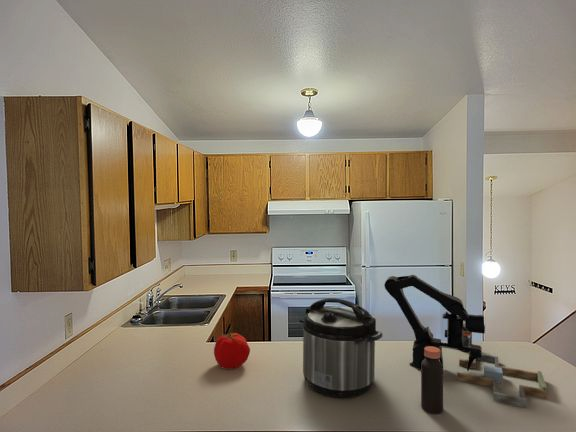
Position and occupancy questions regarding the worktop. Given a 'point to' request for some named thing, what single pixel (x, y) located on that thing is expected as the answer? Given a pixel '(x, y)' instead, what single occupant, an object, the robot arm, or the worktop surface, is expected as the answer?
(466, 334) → the supplement bottle
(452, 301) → the robot arm
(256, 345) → the worktop surface
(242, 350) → the tomato
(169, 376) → the worktop surface
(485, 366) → the block
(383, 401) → the worktop surface
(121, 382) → the worktop surface
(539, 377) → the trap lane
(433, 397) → the vinegar
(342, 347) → the pressure cooker
